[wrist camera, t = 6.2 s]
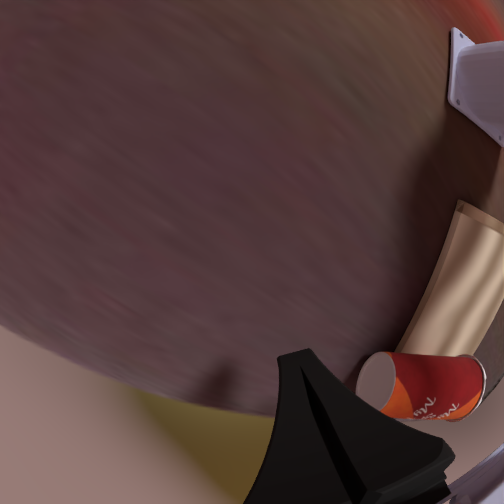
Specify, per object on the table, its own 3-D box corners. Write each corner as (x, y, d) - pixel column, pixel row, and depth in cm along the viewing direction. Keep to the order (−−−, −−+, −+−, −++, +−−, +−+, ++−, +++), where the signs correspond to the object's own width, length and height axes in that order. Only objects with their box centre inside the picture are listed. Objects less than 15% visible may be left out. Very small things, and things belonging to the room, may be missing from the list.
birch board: (522, 236, 21) (526, 238, 20) (464, 359, 27) (467, 363, 27) (458, 199, 18) (465, 201, 17) (382, 371, 24) (386, 377, 24)
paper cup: (390, 436, 15) (481, 424, 16) (413, 336, 17) (494, 352, 19) (340, 416, 22) (432, 416, 24) (358, 340, 25) (445, 356, 26)
